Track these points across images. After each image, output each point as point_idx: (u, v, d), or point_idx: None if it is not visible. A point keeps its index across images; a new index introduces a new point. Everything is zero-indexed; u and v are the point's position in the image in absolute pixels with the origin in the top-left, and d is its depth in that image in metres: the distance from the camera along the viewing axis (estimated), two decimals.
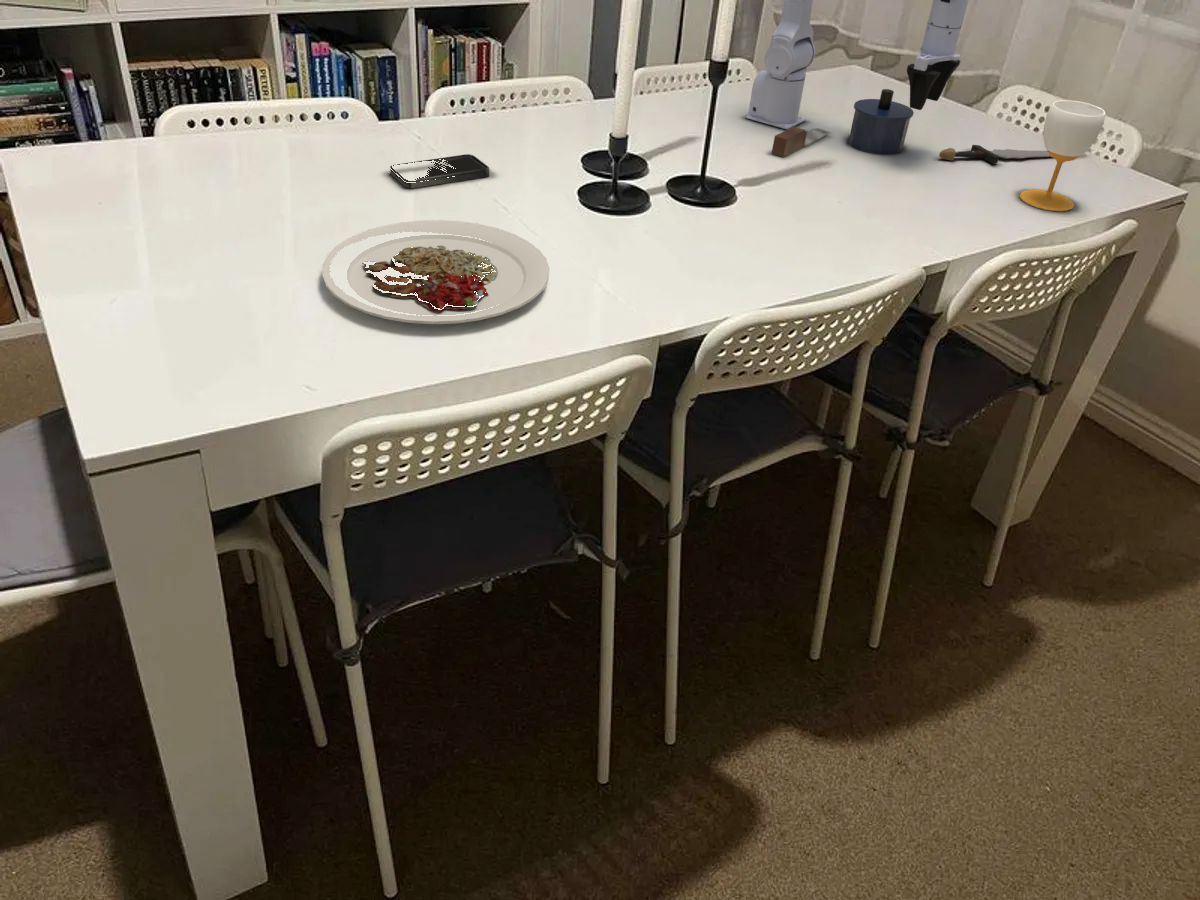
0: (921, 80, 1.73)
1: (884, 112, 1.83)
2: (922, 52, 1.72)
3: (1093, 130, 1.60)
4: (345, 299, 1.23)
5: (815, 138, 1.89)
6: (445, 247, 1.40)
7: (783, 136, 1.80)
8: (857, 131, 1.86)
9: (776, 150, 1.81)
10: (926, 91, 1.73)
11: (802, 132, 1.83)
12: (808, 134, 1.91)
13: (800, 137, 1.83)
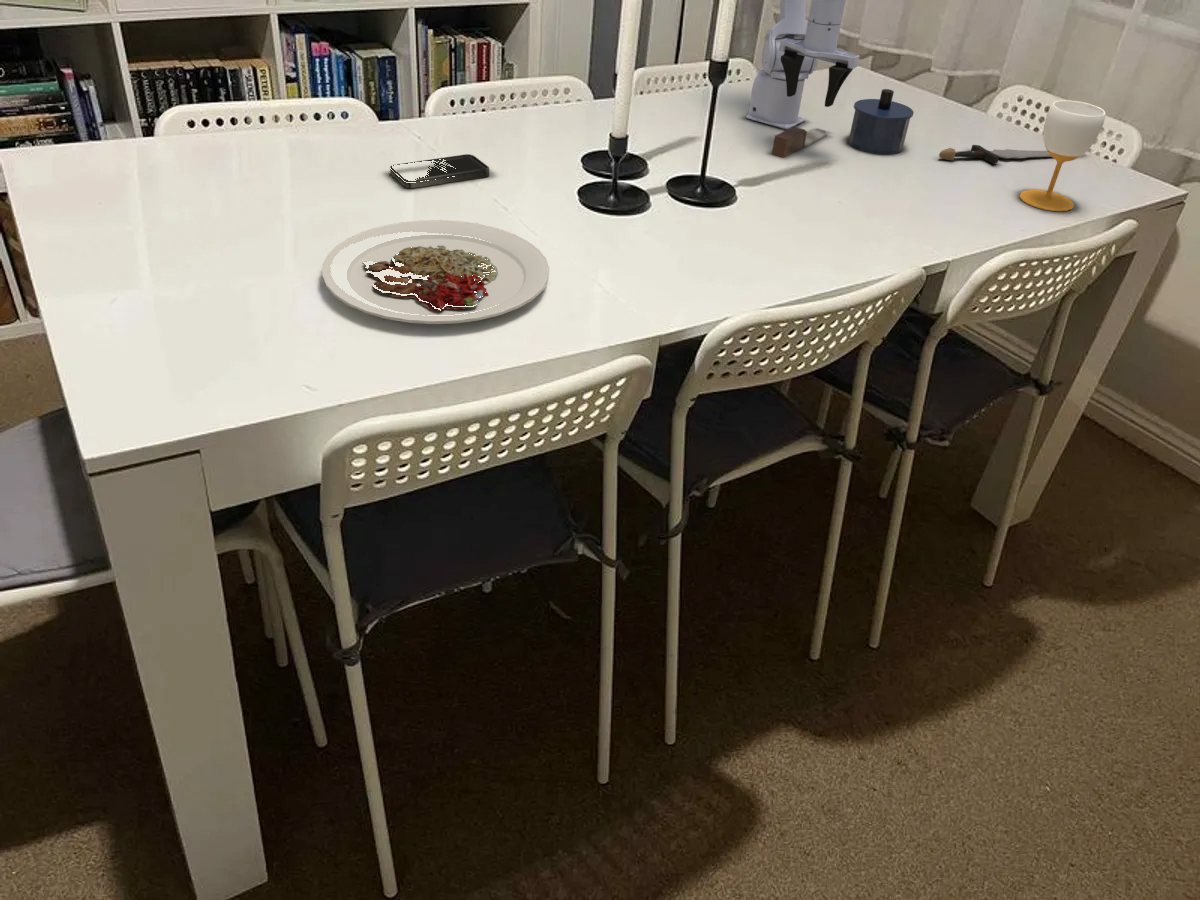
0: None
1: (884, 112, 1.83)
2: None
3: (1093, 130, 1.60)
4: (345, 299, 1.23)
5: (815, 138, 1.89)
6: (445, 247, 1.40)
7: (783, 136, 1.80)
8: (857, 131, 1.86)
9: (776, 150, 1.81)
10: (785, 76, 1.78)
11: (802, 132, 1.83)
12: (808, 134, 1.91)
13: (800, 137, 1.83)
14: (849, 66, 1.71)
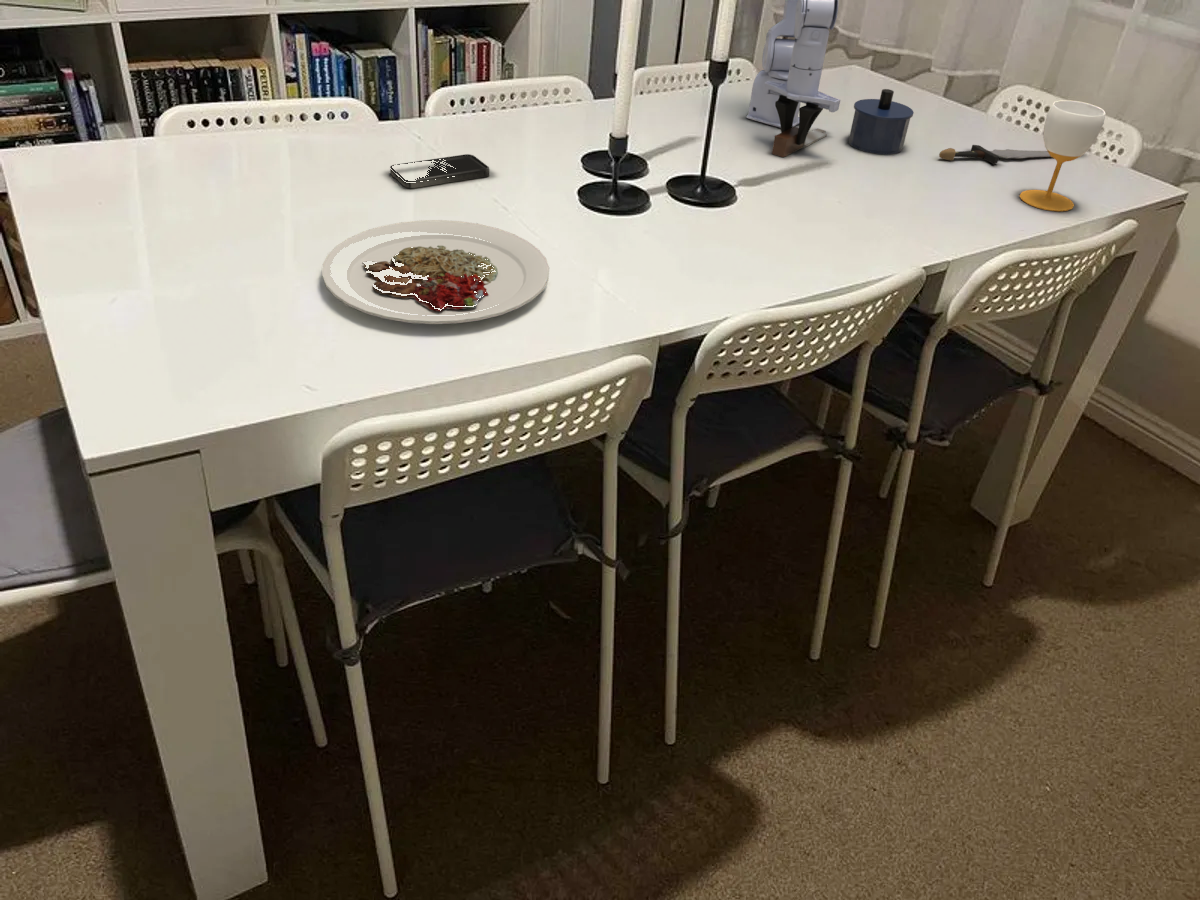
0: None
1: (884, 112, 1.83)
2: None
3: (1093, 130, 1.60)
4: (345, 299, 1.23)
5: (815, 138, 1.89)
6: (445, 247, 1.40)
7: (783, 136, 1.80)
8: (857, 131, 1.86)
9: (776, 150, 1.81)
10: (780, 120, 1.82)
11: None
12: (808, 134, 1.91)
13: None
14: (830, 110, 1.76)
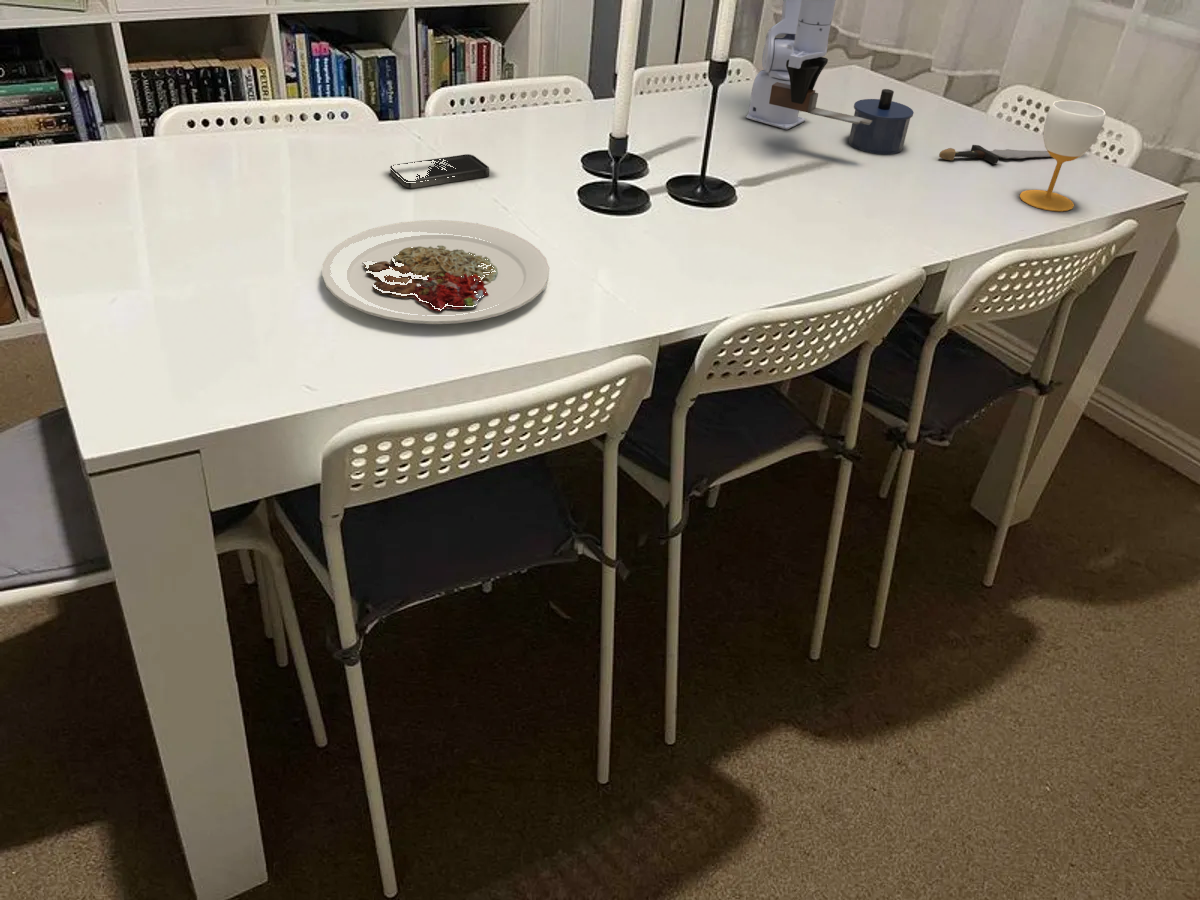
0: None
1: (884, 112, 1.83)
2: None
3: (1093, 130, 1.60)
4: (345, 299, 1.23)
5: (837, 116, 1.76)
6: (445, 247, 1.40)
7: (778, 84, 1.80)
8: (857, 131, 1.86)
9: None
10: None
11: None
12: (846, 115, 1.77)
13: None
14: None
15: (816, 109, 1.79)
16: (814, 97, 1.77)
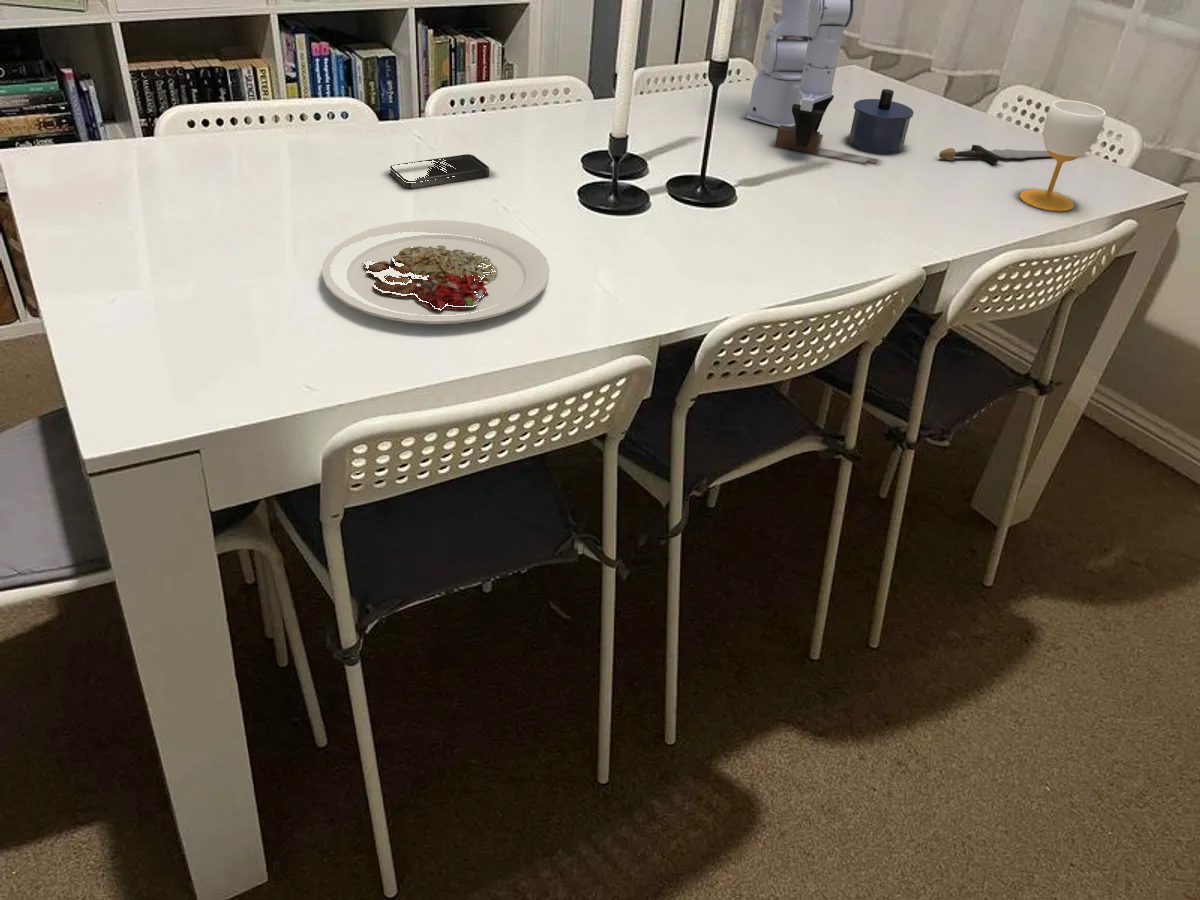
0: None
1: (884, 112, 1.83)
2: None
3: (1093, 130, 1.60)
4: (345, 299, 1.23)
5: (844, 157, 1.81)
6: (445, 247, 1.40)
7: (783, 127, 1.84)
8: (857, 131, 1.86)
9: None
10: None
11: None
12: (852, 155, 1.83)
13: None
14: (801, 107, 1.74)
15: (821, 150, 1.84)
16: (820, 139, 1.82)
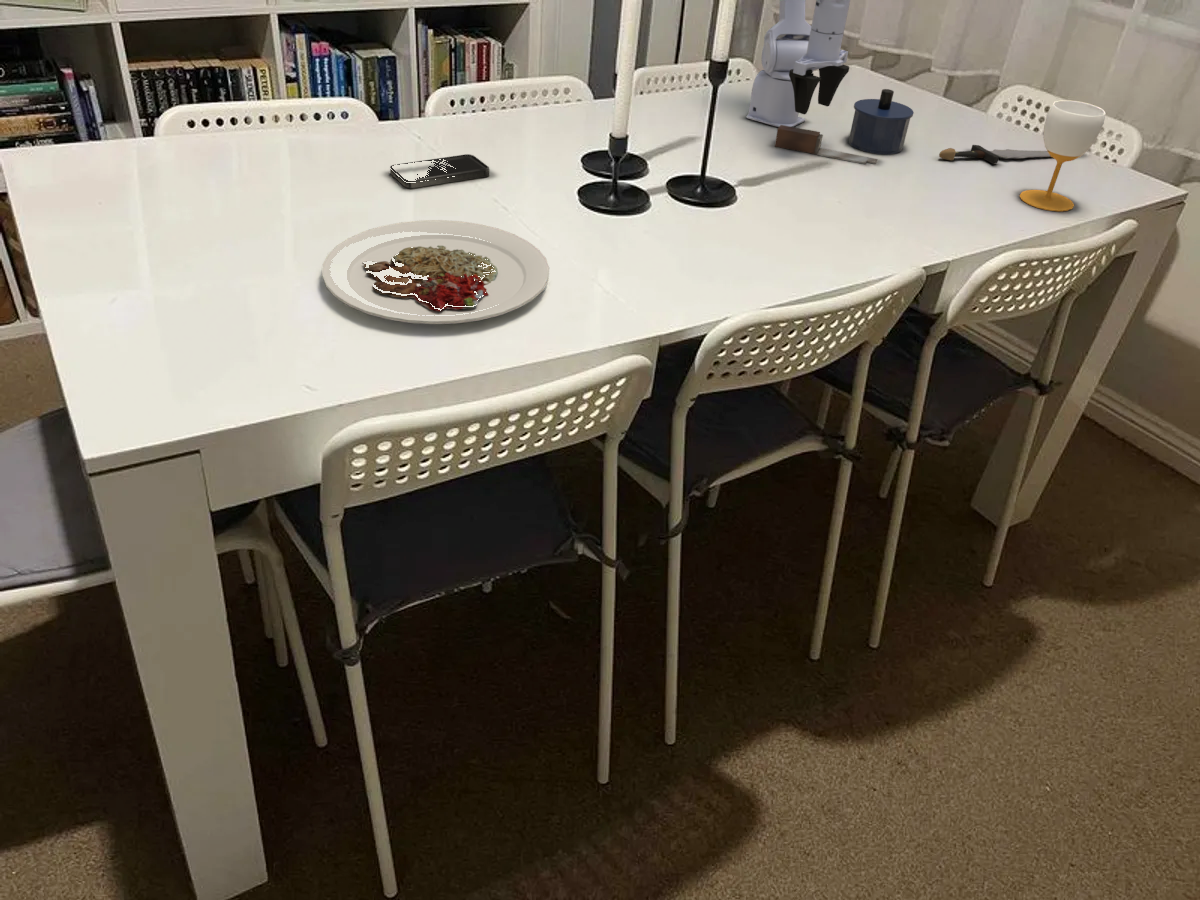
0: (803, 85, 1.75)
1: (884, 112, 1.83)
2: (806, 57, 1.74)
3: (1093, 130, 1.60)
4: (345, 299, 1.23)
5: (844, 157, 1.81)
6: (445, 247, 1.40)
7: (783, 127, 1.84)
8: (857, 131, 1.86)
9: None
10: (808, 96, 1.74)
11: (810, 135, 1.81)
12: (852, 155, 1.83)
13: (807, 139, 1.82)
14: (844, 61, 1.79)
15: (821, 150, 1.84)
16: (820, 139, 1.82)
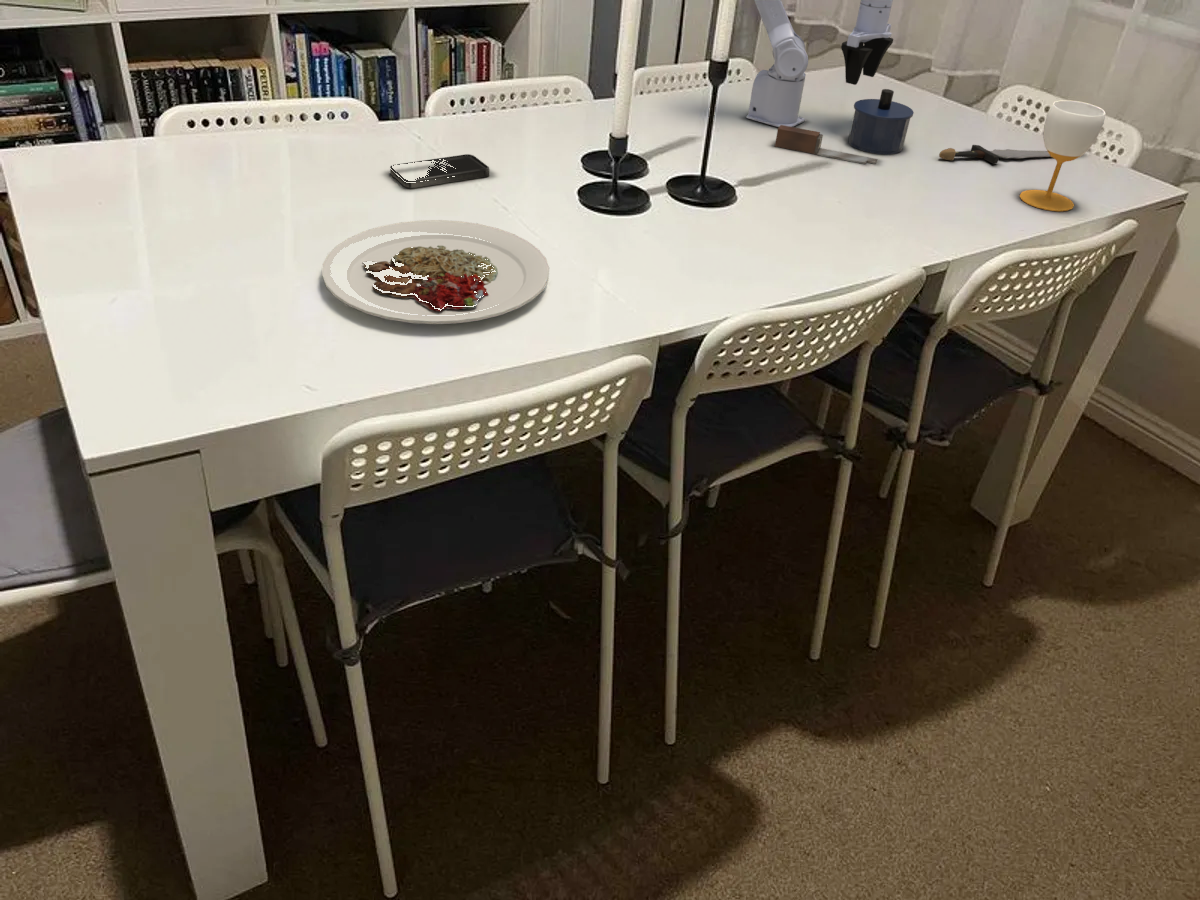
0: (855, 56, 1.85)
1: (884, 112, 1.83)
2: (856, 30, 1.85)
3: (1093, 130, 1.60)
4: (345, 299, 1.23)
5: (844, 157, 1.81)
6: (445, 247, 1.40)
7: (783, 127, 1.84)
8: (857, 131, 1.86)
9: None
10: (859, 67, 1.85)
11: (810, 135, 1.81)
12: (852, 155, 1.83)
13: (807, 139, 1.82)
14: None
15: (821, 150, 1.84)
16: (820, 139, 1.82)
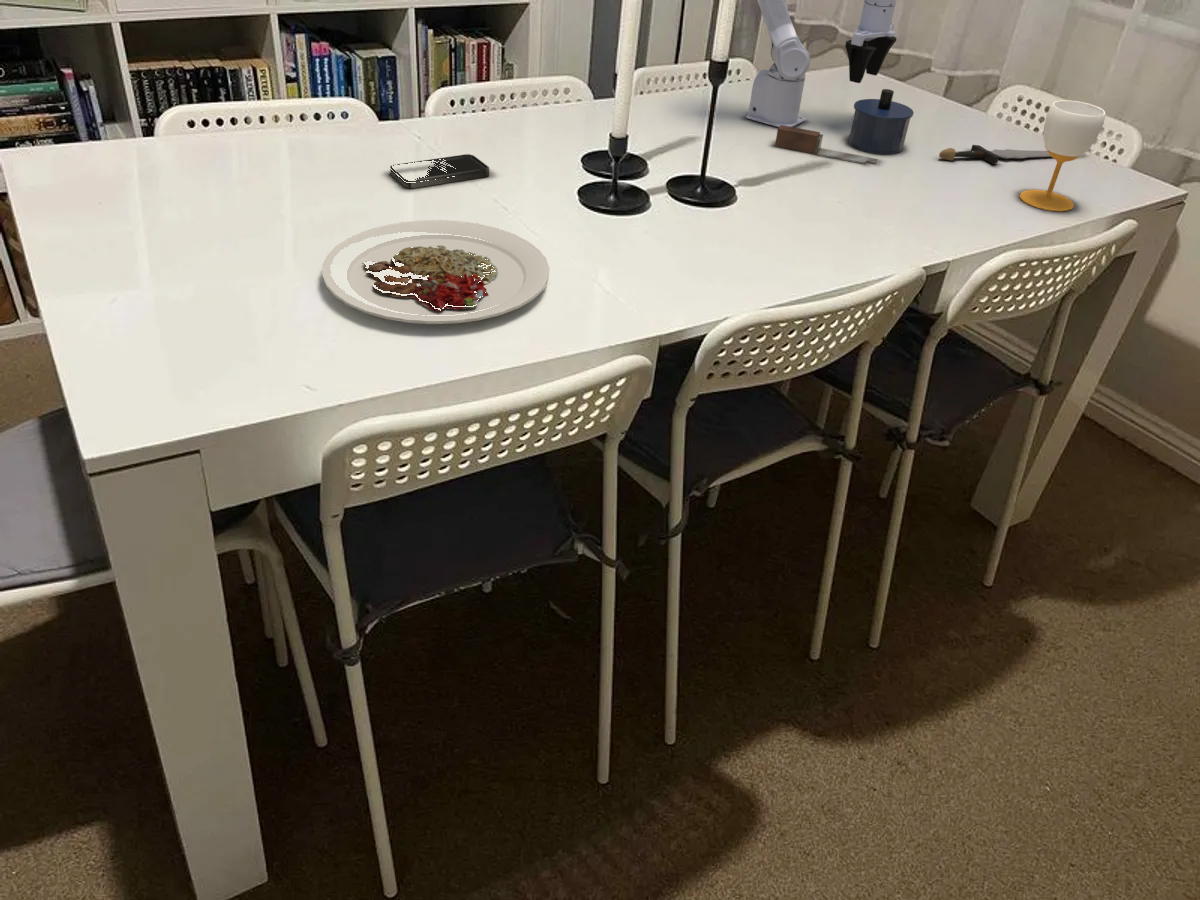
0: (859, 55, 1.86)
1: (884, 112, 1.83)
2: (860, 29, 1.86)
3: (1093, 130, 1.60)
4: (345, 299, 1.23)
5: (844, 157, 1.81)
6: (445, 247, 1.40)
7: (783, 127, 1.84)
8: (857, 131, 1.86)
9: None
10: (863, 65, 1.86)
11: (810, 135, 1.81)
12: (852, 155, 1.83)
13: (807, 139, 1.82)
14: None
15: (821, 150, 1.84)
16: (820, 139, 1.82)
